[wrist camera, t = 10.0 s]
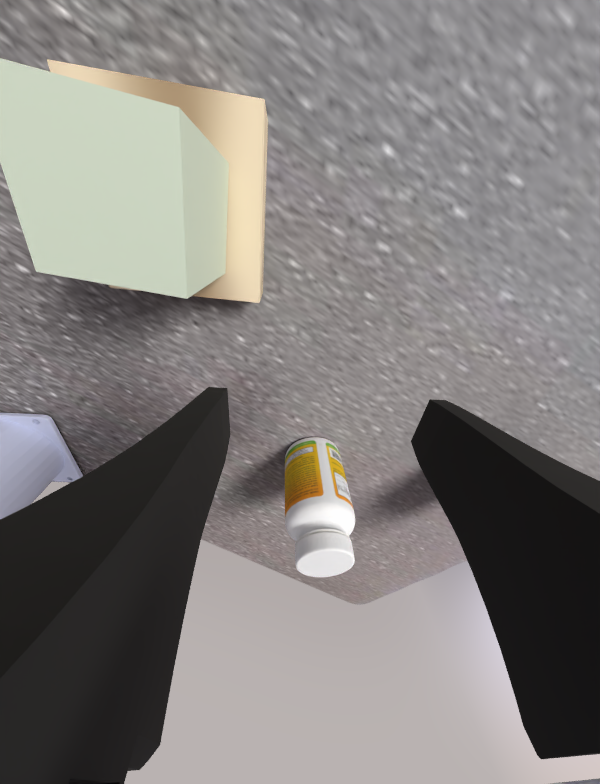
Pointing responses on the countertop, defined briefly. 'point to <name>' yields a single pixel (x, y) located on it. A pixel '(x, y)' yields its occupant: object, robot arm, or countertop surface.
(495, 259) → the countertop surface
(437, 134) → the countertop surface
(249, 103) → the beech block
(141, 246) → the sage block
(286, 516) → the supplement bottle
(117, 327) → the countertop surface
